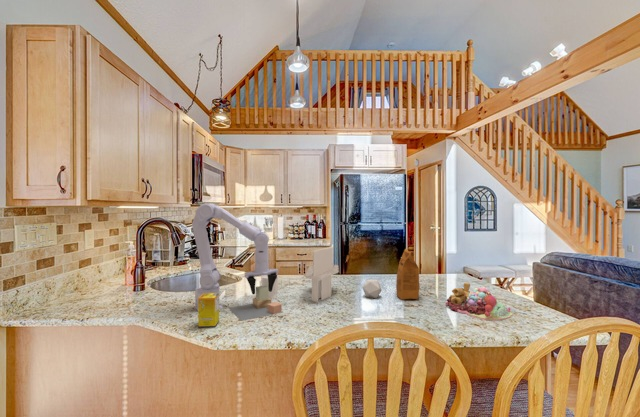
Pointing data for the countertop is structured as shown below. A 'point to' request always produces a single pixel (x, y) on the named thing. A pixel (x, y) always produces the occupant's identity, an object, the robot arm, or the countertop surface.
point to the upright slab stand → (321, 273)
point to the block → (274, 307)
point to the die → (372, 288)
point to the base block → (261, 303)
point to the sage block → (261, 293)
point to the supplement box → (208, 310)
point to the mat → (249, 312)
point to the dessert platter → (477, 303)
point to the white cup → (274, 289)
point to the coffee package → (407, 277)
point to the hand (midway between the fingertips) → (261, 292)
